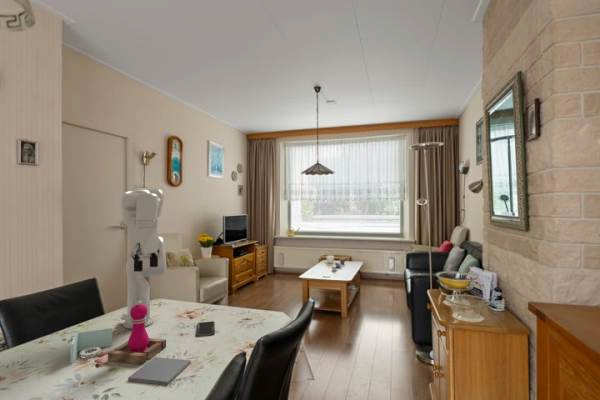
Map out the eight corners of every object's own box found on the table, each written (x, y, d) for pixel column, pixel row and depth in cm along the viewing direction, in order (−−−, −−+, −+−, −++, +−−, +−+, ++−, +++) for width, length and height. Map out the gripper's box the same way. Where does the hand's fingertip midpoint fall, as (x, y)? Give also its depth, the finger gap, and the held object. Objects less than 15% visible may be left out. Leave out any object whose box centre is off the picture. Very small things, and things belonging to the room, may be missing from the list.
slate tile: (128, 380, 102) (128, 377, 102) (155, 359, 116) (155, 356, 116) (168, 384, 100) (168, 381, 100) (190, 363, 113) (190, 360, 114)
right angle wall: (70, 366, 112) (70, 344, 112) (75, 352, 123) (76, 332, 123) (109, 358, 118) (110, 338, 118) (111, 345, 128) (112, 327, 129)
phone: (195, 335, 136) (197, 322, 151) (195, 337, 136) (197, 325, 151) (214, 333, 138) (214, 321, 153) (214, 335, 138) (214, 323, 153)
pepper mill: (153, 351, 123) (153, 299, 123) (138, 359, 116) (138, 304, 116) (138, 348, 125) (139, 297, 125) (122, 356, 118) (123, 302, 118)
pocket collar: (107, 361, 115) (108, 352, 115) (134, 344, 128) (134, 337, 128) (142, 364, 112) (143, 356, 112) (166, 347, 126) (166, 339, 126)
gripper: (151, 224, 133) (150, 265, 133) (122, 225, 116) (122, 273, 116) (167, 224, 132) (167, 265, 132) (141, 225, 115) (141, 273, 114)
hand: (146, 269), depth 124 cm, fingers open, 9 cm apart
